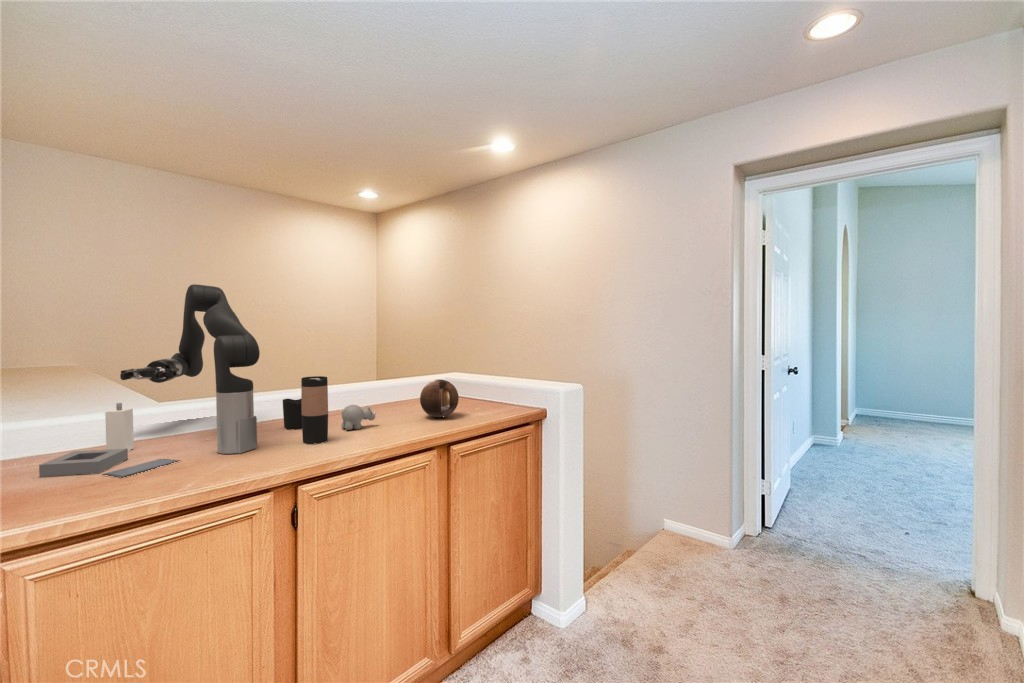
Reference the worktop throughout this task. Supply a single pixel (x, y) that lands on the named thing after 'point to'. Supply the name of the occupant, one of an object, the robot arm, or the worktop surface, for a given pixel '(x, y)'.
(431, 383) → the wooden sphere
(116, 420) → the white block with peg
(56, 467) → the block
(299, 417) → the pen holder
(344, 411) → the toy rhinoceros
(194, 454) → the worktop surface
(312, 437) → the travel mug
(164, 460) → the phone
